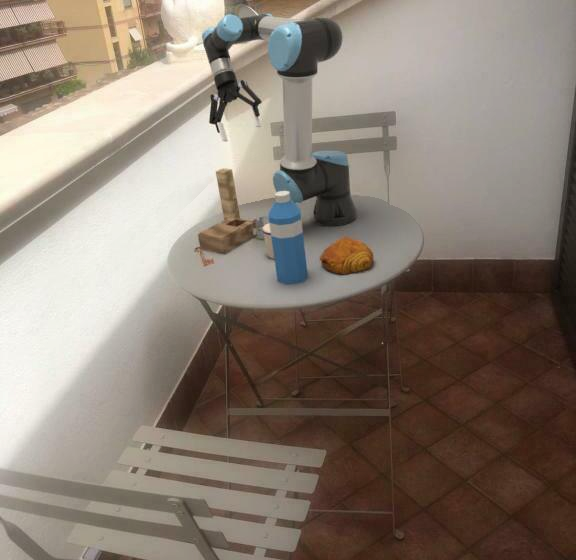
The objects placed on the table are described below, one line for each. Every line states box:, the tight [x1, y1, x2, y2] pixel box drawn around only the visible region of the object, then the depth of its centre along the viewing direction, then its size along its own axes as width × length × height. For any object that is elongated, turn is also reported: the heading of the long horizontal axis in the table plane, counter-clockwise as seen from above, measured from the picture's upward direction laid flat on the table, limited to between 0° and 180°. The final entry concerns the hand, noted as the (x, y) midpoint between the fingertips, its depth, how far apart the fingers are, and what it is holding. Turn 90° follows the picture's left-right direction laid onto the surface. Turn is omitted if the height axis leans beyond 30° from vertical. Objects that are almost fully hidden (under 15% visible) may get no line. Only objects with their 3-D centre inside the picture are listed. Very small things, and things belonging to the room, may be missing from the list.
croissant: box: [319, 236, 374, 275], centre depth 166 cm, size 14×16×8 cm
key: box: [193, 246, 215, 267], centre depth 184 cm, size 6×1×15 cm
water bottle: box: [268, 191, 309, 285], centre depth 158 cm, size 9×9×25 cm
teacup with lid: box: [262, 222, 275, 260], centre depth 177 cm, size 12×9×12 cm
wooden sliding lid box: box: [197, 217, 257, 255], centre depth 190 cm, size 16×11×5 cm
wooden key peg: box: [215, 167, 241, 221], centre depth 201 cm, size 4×4×20 cm
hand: (241, 134), depth 198 cm, fingers open, 13 cm apart
